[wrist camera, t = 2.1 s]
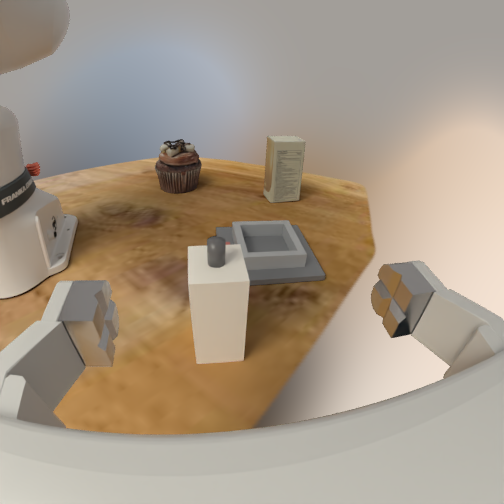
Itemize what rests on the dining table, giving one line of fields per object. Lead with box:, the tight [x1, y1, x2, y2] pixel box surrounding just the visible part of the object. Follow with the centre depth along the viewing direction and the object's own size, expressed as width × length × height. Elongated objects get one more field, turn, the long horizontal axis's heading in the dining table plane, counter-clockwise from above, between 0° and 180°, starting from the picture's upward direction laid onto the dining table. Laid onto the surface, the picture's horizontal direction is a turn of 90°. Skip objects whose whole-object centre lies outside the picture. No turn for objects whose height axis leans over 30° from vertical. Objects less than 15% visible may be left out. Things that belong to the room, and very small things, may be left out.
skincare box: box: [264, 136, 305, 203], centre depth 57 cm, size 6×4×12 cm
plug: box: [188, 236, 250, 364], centre depth 26 cm, size 5×4×12 cm
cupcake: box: [155, 139, 202, 194], centre depth 59 cm, size 10×10×10 cm
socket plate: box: [216, 220, 325, 285], centre depth 43 cm, size 13×13×3 cm
